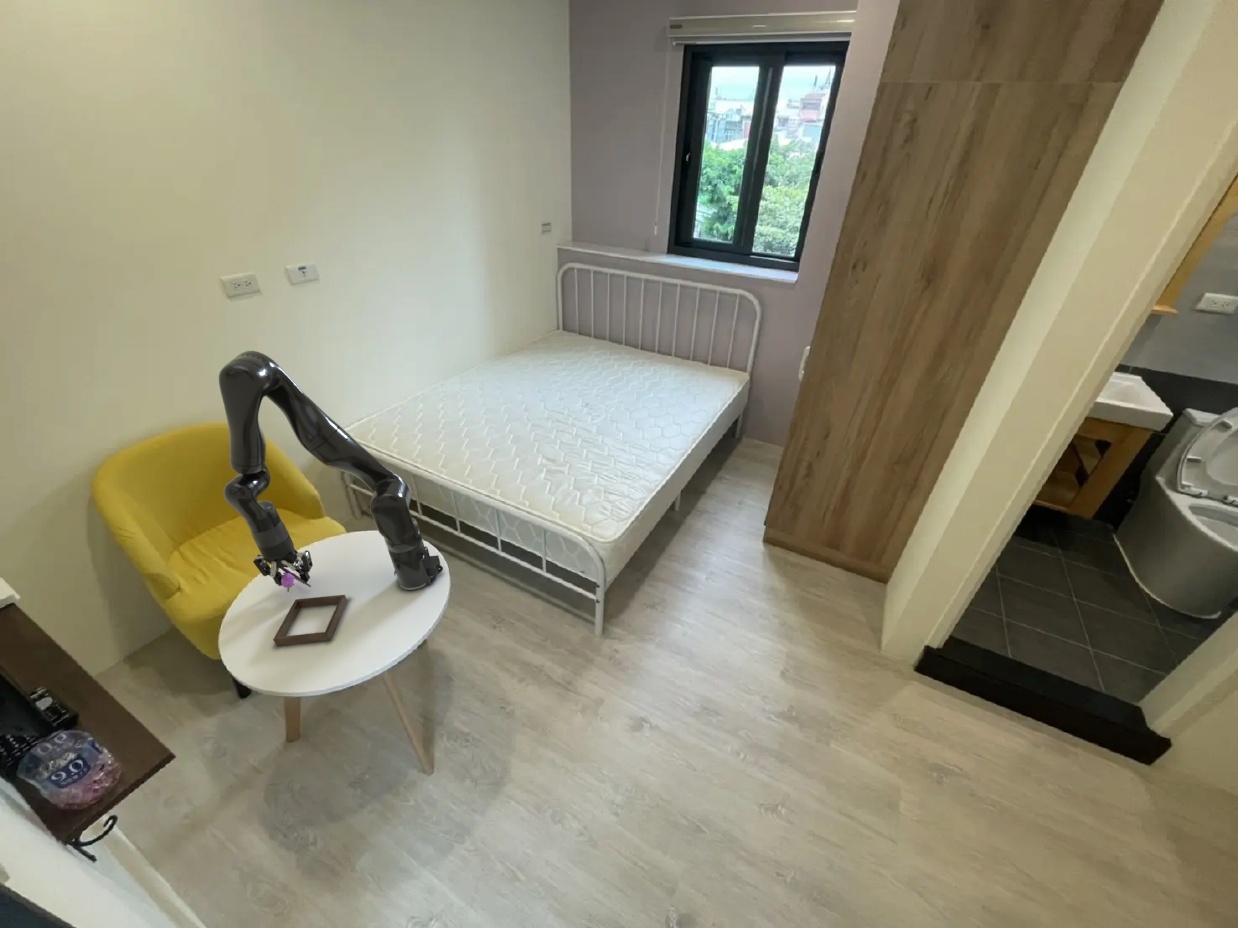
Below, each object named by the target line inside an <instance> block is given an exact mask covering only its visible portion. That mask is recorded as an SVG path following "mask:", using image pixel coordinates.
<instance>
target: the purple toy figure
mask: <svg viewBox="0 0 1238 928" xmlns="http://www.w3.org/2000/svg"><path fill="white" fill-rule="evenodd" d="M279 570H281V571H283V572H282V578H281V583H282V587H284V588H286V593H290V588H292V587H293V586H295V583H294V582H295V580H296V581H299V582H300V583H302V584H303V583H305V584H304V585H305V586H307V587H309V588H311V587H312V585H311V584H309V583H308V582H307V583H306V582H305V581H304V580H302V579H301V578H300V576H299V575H297V574H295V573H294V572H292V571H291V570H289V569H288V568H286V567H283V568H279Z"/></svg>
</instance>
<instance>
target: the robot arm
mask: <svg viewBox="0 0 1238 928" xmlns="http://www.w3.org/2000/svg"><path fill="white" fill-rule="evenodd" d="M218 387H219V391H220V394H221V399H222V403H223V408H224V411H225V416H226V420H227V425H228V426H227V427H228V435H229V465H230V467H231V469H232V471H234V472H235V473H237V475H236V476H234V477H233V478H232V479H230V480H229V481H228V482H227V483H226V484H225V486H224V487H223V498H224V500H225V501H226V502H227V504H228V505H229V506H231V508H233V509H234V510H235V511H236V512H237V513H238V514H239V515H240V516H241V518H243V519H244V520H245V522H246V525H247V526H248V528H249V530H250V533H251V537H252V539H253V541H254V542H255V545H256V547H257V548H258V550H259V552H260V554H257V555H256V557H255V558H254V560H253V561H252V562H253V564H254V565H255V567H256V568H257V570H258V571H259V572H260V574H261V575H262V576H263V577H267V576H270V577H271V578H272V579H273V581H274V583H275V584H276V585H277V586H278V587H283V585H282V583H281V578H282V575H283V573H282V572H281V571H280V568H283V567H284V568H286V569H288V568H289V569H290V570H291V571H295V572H296V573H298V574H299V575H298V577H300V578H301V579H302V580H304V581H305V582H306V583H308V582H309V580H311V576H310V572H311V569H312V567H313V566H314V564H313V560H312V557H311V552H310V551H309V550H305V551H304V552H299V551H298V550H296V549H295V544H294V542H293V540H292V538H291V535H290V533H289V530H288V529H287V527H286V525H285V523H284V522H283V520H282V518H281V517H280V515H279V512H278V510H277V508H276V506H275V505H274V504H273V502H272V501H269V500H258V498H260V497H261V496H262V494H264V493H266V491H267V490H268V489H269V486H270V485H271V474H270V470H269V468H268V465H267V462H266V459H267V457H266V455H267V441H266V436H265V432H264V431H263V429H262V427H261V425H260V422H259V421H260V420H259V414H260V408H261V404H262V401H263V399H264V398H265V397H266V398H267V399H269V400H270V401H271V402H272V403H273V404H274V405H276V406H277V408H278V409H279V410H280V411H281V412H282V414H283V415H284V416H285V419H286V420H287V422H288V423H289V426H290V428H291V430H292V432H293V434H294V435H295V437H296V439H297V441H298V442H299V444H300V445H301V446H302V447H303V448H304V449H305V450H306V451H307V452H308V453H309V454H311V455H312V456H313V457H314V458H315V459H316V460H318V461H319V462H320V463H322V464H323V465H325V466H326V467H329V468H330V469H333V470H336V471H339V472H342V473H346V474H349V475H351V476H354V477H355V478H357V479H358V480H360V481H361V482H362V483H364V484H365V485H366V486H367V487H368V488H369V489H370V490H371V491H372V492H373V494H372V497H371V500H370V502H369V510H370V513H371V516H372V519H373V521H374V524H375V526H376V529H377V531H378V533H379V534H380V535H381V536H382V538H383V540H384V543H385V545H386V549H387V551H388V555H389V557H390V560H391V564H392V566H393V568H394V571H393V574H394V576H396V577H397V581H398V585H399V587H400V588H401V589H403V590H405V591H416V590H420V589H422V588H424V587H426V586H429V585H431V584H432V580H433V577H437V576H438V575H439V574H440V573H442V572H443V570H444V567H443V566H442V565H441V560H440V558H439V557H440V556H439V555H430V551H429V548H428V546H427V545H426V546H425V544H424V541H423V537H422V533H421V531H420V530H421V529H420V527H419V523H418V521H417V520H416V519H415V518H413V517H412V514H411V511H410V504H411V500H412V496H413V495H412V488H411V487H410V484H409V483H408V482H407V481H406V480H404V479H403V478H402V477H401V476H399V475H398V474H397V473H395V472H394V471H392V470H391V469H390V468H388V467H387V466H386V465H384V464H383V463H382V462H381V461H379V460H378V459H377V458H375V456H373V454H371V453H370V452H369V451H368V450H367V449H366V448H365V447H363V446H362V445H361V444H360V443H359V442H358V441H357V440H356V439H354V437H353V436H352V435H351V434H350V433H349V432H347V431H346V430H345V429H344V428H343V427H342V426H341V425H340V424H338V423H337V421H335V420H333V419H332V418H331V416H329V415H328V414H327V413H326V412H325V411H324V410H323V409H322V408H321V407H320V406H318V405H317V403H315V402H314V401H313V400H312V399H311V398H310V397H309V396H307V394H306V393H305V392H304V391H303V390H302V389H301V388H300V387H299V386H298V385H297V384H296V383H295V382H294V380H293V379H292V378H291V377H290V376H289V375H288V374H287V372H285V370H284V369H283V368H282V367H281V366H280V365H279V364H278V363H277V362H276V361H275V360H273V358H272V357H270V356H268V355H267V354H265V353H263V352H260V351H257V350H246V351H243V352H240V353H239V354H238V355H236V356H235V357H234V358H233V359H231V360H230V361H229V362H227V363H226V364H225V365H224V366H223V367H222V368H221V370H220V371H219V374H218ZM270 565H271V566H270ZM302 584H303V585H305V583H302Z"/></svg>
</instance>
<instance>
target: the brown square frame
mask: <svg viewBox="0 0 1238 928" xmlns="http://www.w3.org/2000/svg"><path fill="white" fill-rule="evenodd" d="M347 604H348V598H347V596H346V594H338V595H337V594H335V595H328V596H327V595H326V596H315V597H306V598H297V599H295V600H294V601H293V603H292V604H291V606H290V608H289V610H288V612H287V614H286V616H285V617H284V620H282V623H281V625H280V626H279V628H278V630H277V631H276V633H275V636H274V638H273V639H272V640H273V642H274V643H275V645H276V647H282V646H291V645H293V646H294V645H301V644H302V645H303V644H312V643H321V642H330V641H331V640H332V638H333V636H334V633H335V631H336V628H337V626H338V624H339V621H340V619H341V617H342V615H343V613H344V610H345V608H346V606H347ZM330 605H331V606H332V605H336V607H335V609H334V611H333V613H332V615H331V618H330V620H329V622H328V624H327V627H326V629H325V630H324V631H322V632H313V633H302V634H292V635H291V634H290V635H288V632H289V630H290V629H291V627H292V624H293V622H294V621H295V619H296V617H297V615H298V613H299V611H300V609H302V608H311V607H320V606H321V607H322V606H330Z"/></svg>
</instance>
